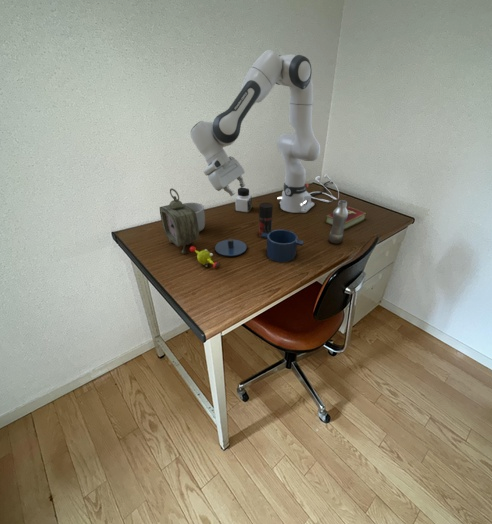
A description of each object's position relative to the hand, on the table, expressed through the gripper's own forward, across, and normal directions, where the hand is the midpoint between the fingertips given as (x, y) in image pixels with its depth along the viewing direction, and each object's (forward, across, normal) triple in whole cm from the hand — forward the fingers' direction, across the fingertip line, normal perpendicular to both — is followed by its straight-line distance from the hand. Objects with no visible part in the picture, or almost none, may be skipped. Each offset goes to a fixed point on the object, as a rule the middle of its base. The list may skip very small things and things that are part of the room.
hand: (238, 190), depth 118 cm
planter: (+4, +11, -27) cm, 30 cm away
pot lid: (+17, +19, -6) cm, 26 cm away
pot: (+30, +12, +10) cm, 34 cm away
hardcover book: (+45, -35, +23) cm, 62 cm away
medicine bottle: (+12, -21, -21) cm, 32 cm away
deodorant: (+24, 0, -2) cm, 24 cm away
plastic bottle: (+43, -9, +24) cm, 50 cm away
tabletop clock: (+6, +26, -21) cm, 34 cm away
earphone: (+36, -63, +5) cm, 72 cm away
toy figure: (+15, +34, -8) cm, 38 cm away
